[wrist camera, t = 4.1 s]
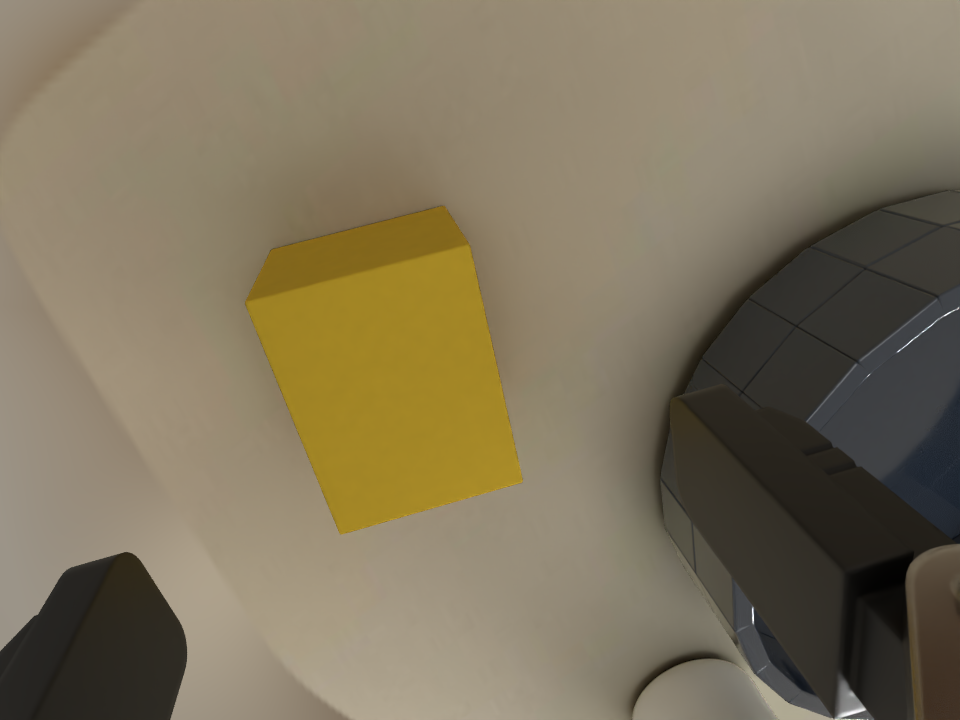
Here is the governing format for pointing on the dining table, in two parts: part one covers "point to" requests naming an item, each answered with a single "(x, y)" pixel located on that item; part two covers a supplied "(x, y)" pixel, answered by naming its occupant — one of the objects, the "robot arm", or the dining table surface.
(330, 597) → the dining table surface
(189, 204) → the dining table surface
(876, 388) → the bowl
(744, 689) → the drinking glass
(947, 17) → the dining table surface
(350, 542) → the dining table surface
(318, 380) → the sponge
